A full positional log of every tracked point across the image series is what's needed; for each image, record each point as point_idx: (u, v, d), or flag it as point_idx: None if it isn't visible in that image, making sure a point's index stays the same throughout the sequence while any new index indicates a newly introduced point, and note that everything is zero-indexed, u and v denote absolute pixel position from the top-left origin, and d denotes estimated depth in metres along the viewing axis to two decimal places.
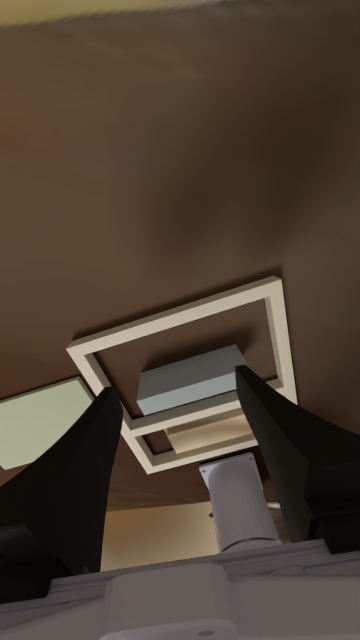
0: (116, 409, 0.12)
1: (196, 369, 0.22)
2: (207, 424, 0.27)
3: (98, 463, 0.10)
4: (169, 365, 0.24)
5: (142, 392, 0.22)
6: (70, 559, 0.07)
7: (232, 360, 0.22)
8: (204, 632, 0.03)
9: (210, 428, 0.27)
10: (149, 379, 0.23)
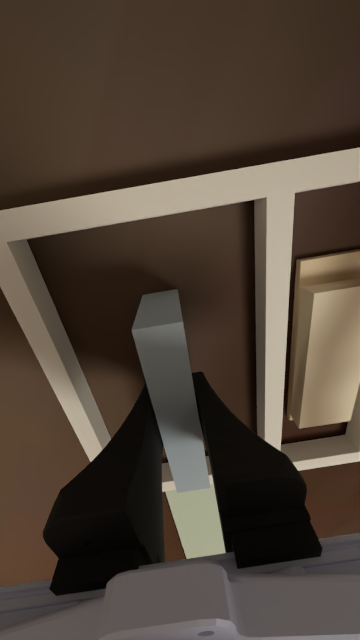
0: None
1: None
2: (306, 369, 0.13)
3: (154, 454, 0.10)
4: None
5: None
6: (149, 547, 0.07)
7: None
8: (204, 632, 0.03)
9: (319, 365, 0.13)
10: None
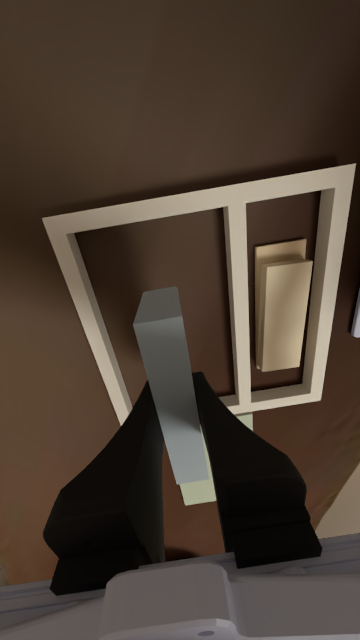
0: None
1: None
2: (265, 323, 0.19)
3: (154, 454, 0.10)
4: None
5: None
6: (149, 547, 0.07)
7: None
8: (204, 632, 0.03)
9: (273, 321, 0.19)
10: None
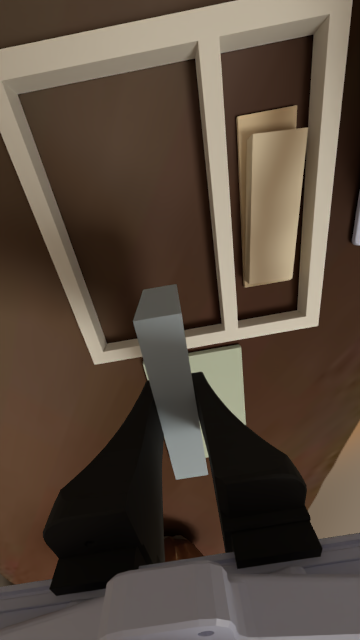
0: None
1: None
2: (251, 217, 0.16)
3: (154, 454, 0.10)
4: None
5: None
6: (149, 547, 0.07)
7: None
8: (204, 632, 0.03)
9: (261, 213, 0.16)
10: None
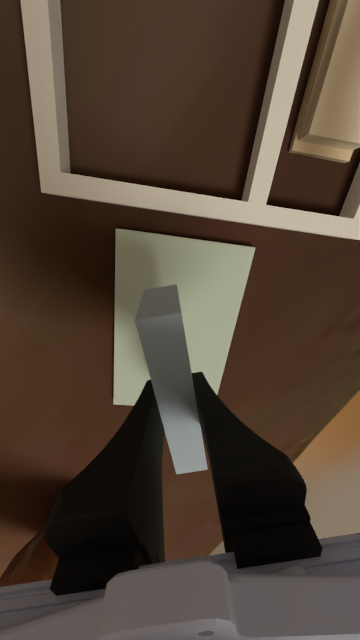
0: None
1: None
2: (348, 3, 0.11)
3: (154, 454, 0.10)
4: None
5: None
6: (149, 547, 0.07)
7: None
8: (204, 632, 0.03)
9: None
10: None
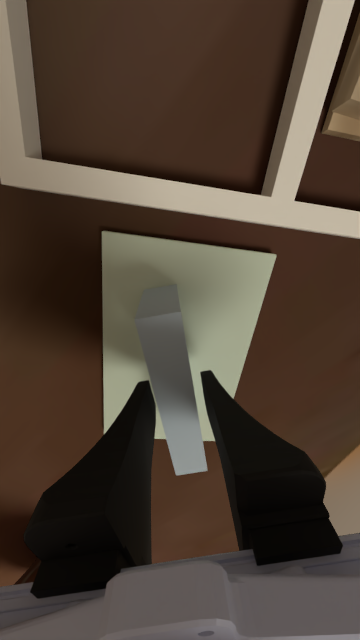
0: (151, 403, 0.12)
1: None
2: None
3: (143, 456, 0.10)
4: None
5: None
6: (133, 549, 0.07)
7: None
8: (204, 632, 0.03)
9: None
10: None
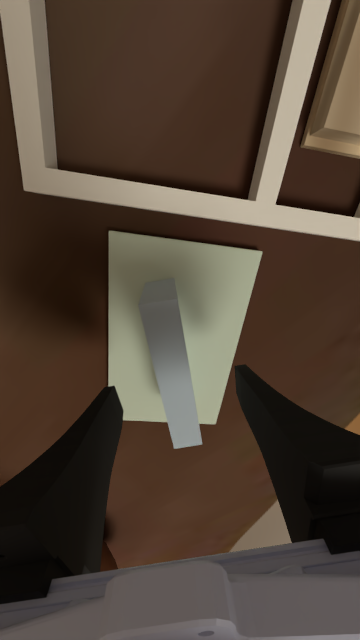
0: (116, 409, 0.12)
1: None
2: None
3: (98, 463, 0.10)
4: None
5: None
6: (70, 559, 0.07)
7: None
8: (204, 632, 0.03)
9: None
10: None
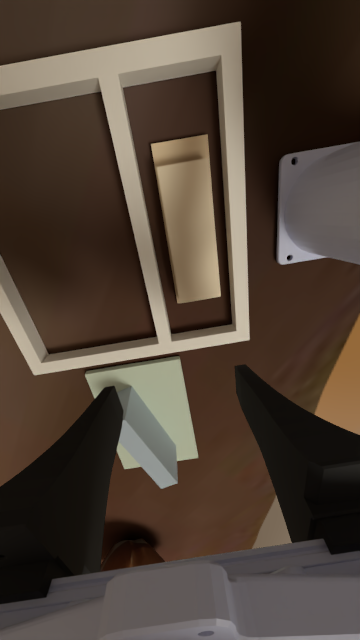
0: (116, 409, 0.12)
1: None
2: (170, 242, 0.17)
3: (98, 463, 0.10)
4: None
5: None
6: (70, 559, 0.07)
7: None
8: (204, 632, 0.03)
9: (179, 238, 0.17)
10: None
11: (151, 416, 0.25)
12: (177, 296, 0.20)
